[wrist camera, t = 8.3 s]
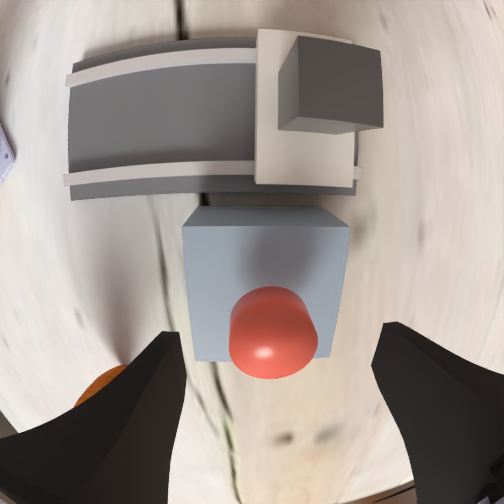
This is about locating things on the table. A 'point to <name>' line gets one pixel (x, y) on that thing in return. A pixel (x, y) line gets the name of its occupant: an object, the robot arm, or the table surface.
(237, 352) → the button
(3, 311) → the table surface
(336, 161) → the carriage
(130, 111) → the rail board
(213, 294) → the blue-grey block
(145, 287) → the table surface
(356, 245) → the table surface
